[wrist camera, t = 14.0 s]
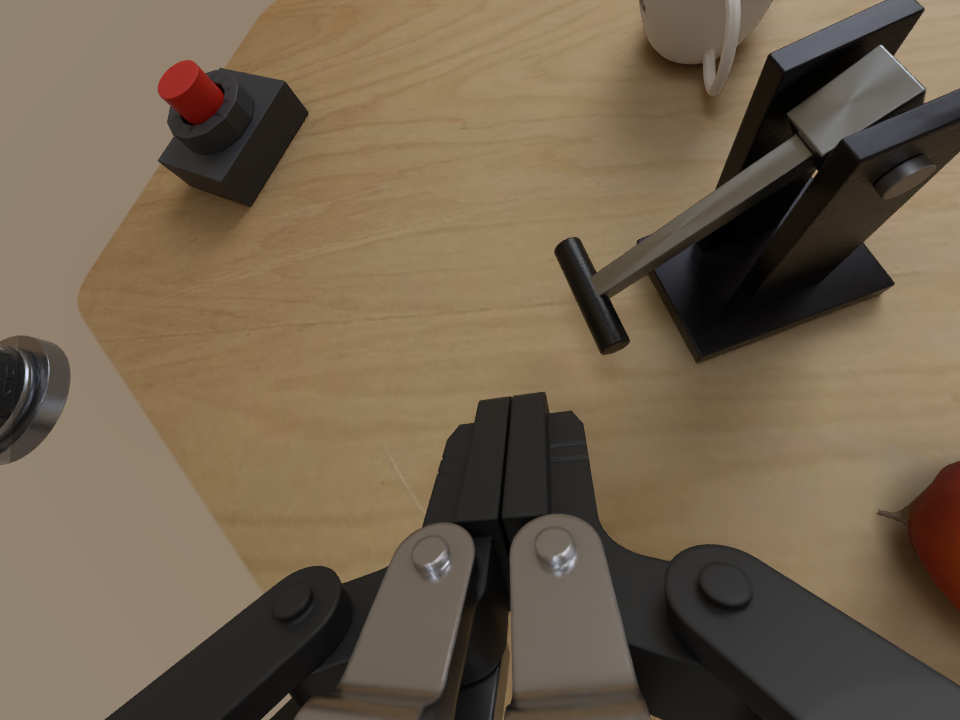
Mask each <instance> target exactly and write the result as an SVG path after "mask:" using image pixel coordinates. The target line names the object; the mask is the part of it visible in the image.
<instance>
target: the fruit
mask: <svg viewBox="0 0 960 720" xmlns="http://www.w3.org/2000/svg"><path fill="white" fill-rule="evenodd" d="M878 511H879V513H877V514H879V515H882V516H885V517H887V518H892V519H894V520H896V521H901V522H902V523H904V524H905V525H906V526H907V528H908V536H909V541H910V544H911V546H912V548H913V549H914V551H915V552H916V554H917V555H918V556H919V558H920V560H921V562H922V563H923V565H924V566H925V568H926V570H927V571H928V573H929V575H930V576H931V578H932V580H933V581H934V583H935V584H936V585H937V587H938V588H939V589H940V590H941V591H942V592H943V593H944V594H945V595H946V597H947V598H948V599H949V600H950V601H951V602H952V604H953V605H954V606H955V607H956V608H957V609H958V610H959V611H960V461H958V462H955V463H952V464H950V465H947V466H946V467H944V468H943V469H942V470H941V471H940V472H939V473H938V475H937V476H936V478H935V479H934V481H933V482H932V483H931V484H930V485H929V487H928V488H927V489H926V490H924V491H923V492H922V493H921V494H920V495H919V496H918V497H917V498H916V499H915V500H914V501H913V502H911V503H910V504H909V505H908V506H906V507H905V508H904V509H902V510H901V511H899V512H896V513H891V512H886V511H881V510H878Z"/></svg>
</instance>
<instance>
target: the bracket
mask: <svg viewBox="0 0 960 720" xmlns="http://www.w3.org/2000/svg"><path fill="white" fill-rule="evenodd" d="M924 10H925V9H924V7H922V6H921V5H920V4H919V3H918V2H917V1H916V0H885V1H883V2H881V3H879V4H876V5H874V6H872V7H870V8H868V9H866V10H863V11H861V12H859V13H857V14H855V15H853V16H850V17H848V18H846V19H844V20H842V21H840V22H837V23H835V24H833V25H831V26H829V27H827V28H824V29H822V30H820V31H818V32H816V33H814V34H811V35H809V36H807V37H805V38H803V39H801V40H798V41H796V42H794V43H792V44H790V45H787V46H785V47H783V48H781V49H779V50H777V51H774V52H772V53H770V54H769V55H768V57H767V59H766V62H765V64H764V67H763V70H762V72H761V75H760V77H759V80H758V82H757V85H756V87H755V90H754V92H753V95H752V97H751V100H750V103H749V105H748V108H747V110H746V113H745V115H744V118H743V120H742V123H741V125H740V128H739V130H738V133H737V136H736V138H735V141H734V143H733V146H732V148H731V151H730V153H729V156H728V158H727V161H726V164H725V166H724V169H723V171H722V174H721V176H720V179H719V181H718V184H717V186H716V189H717V188H719V187H720V186H722V185H723V184H725V183H726V182H728V181H729V180H730V179H732V178H733V177H735V176H736V175H738V174H739V173H740V172H742V171H743V170H745V169H746V168H748V167H749V166H750V165H752V164H753V163H755V162H756V161H758V160H759V159H760V158H762V157H763V156H765V155H766V154H768V153H769V152H770V151H772V150H773V149H775V148H776V147H778V146H779V145H781V144H782V143H783V142H785V141H786V140H788V139H789V138H791V137H792V136H793V133H792V130H791V127H790V123H789V120H788V117H787V112H788V111H790V110H791V109H792V108H794V107H795V106H796V105H798V104H799V103H801V102H802V101H803V100H805V99H806V98H807V97H809V96H810V95H811V94H813V93H814V92H816V91H817V90H818V89H820V88H821V87H822V86H824V85H825V84H827V83H828V82H829V81H831V80H832V79H833V78H835V77H836V76H837V75H839V74H840V73H842V72H843V71H844V70H846V69H847V68H848V67H850V66H851V65H852V64H854V63H855V62H857V61H858V60H859V59H861V58H862V57H863V56H865V55H866V54H868V53H869V52H870V51H872V50H873V49H874V48H876V47H877V46H879V45H883V46H884V47H885V48H886V49H887V50H888V51H889V52H890V53H891V54H892V55H893V56H894V54H895V53H896V51H897V50H898V49H899V47H900V46H901V44H902V43H903V41H904V40H905V38H906V37H907V35H908V34H909V32H910V31H911V29H912V28H913V27H914V25H915V24H916V22H917V21H918V19H919V18H920V16H921V15H922V13H923V12H924ZM959 152H960V89H958V90H955V91H953V92H950V93H948V94H946V95H943V96H941V97H939V98H936V99H934V100H932V101H929V102H927V103H925V104H922V105H920V106H918V107H915V108H913V109H911V110H908V111H906V112H904V113H901V114H899V115H897V116H894V117H892V118H889V119H887V120H885V121H882V122H880V123H878V124H875V125H873V126H871V127H868V128H866V129H864V130H861V131H859V132H857V133H854V134H852V135H850V136H847V137H845V138H843V139H841V140H840V141H839V142H838V144H837V145H836V147H835V148H834V150H833V151H832V152H831V154H830V155H829V157H828V158H827V160H826V161H825V163H824V164H823V165H822V167H821V168H820V170H819V171H818V173H817V174H816V176H815V177H814V178H812V175H813V173H814V172H815V170H816V168H815V167H813V168H812V169H810V170H808V171H807V172H805V173H804V174H802V175H801V176H799V177H798V178H796V179H794V180H793V181H791V182H790V183H788V184H787V185H785V186H784V187H782V188H780V189H779V190H777V191H776V192H774V193H773V194H771V195H770V196H768V197H766V198H765V199H763V200H762V201H760V202H759V203H757V204H756V205H754V206H752V207H751V208H749V209H748V210H746V211H745V212H743V213H742V214H740V215H739V216H737V217H735V218H734V219H732V220H731V221H729V222H728V223H726V224H725V225H723V226H721V227H720V228H718V229H717V230H715V231H714V232H712V233H711V234H709V235H707V236H706V237H704V238H703V239H701V240H700V241H698V242H697V243H695V244H693V245H692V246H690V247H689V248H687V249H686V250H684V251H683V252H681V253H679V254H678V255H676V256H675V257H673V258H672V259H670V260H669V261H667V262H666V263H664V264H662V265H661V266H659V267H658V268H656V269H655V270H653V271H652V272H650V273H648V274H649V276H650V278H651V280H652V281H653V283H654V285H655V287H656V289H657V291H658V292H659V294H660V296H661V298H662V300H663V302H664V303H665V305H666V307H667V309H668V311H669V313H670V314H671V316H672V318H673V320H674V322H675V324H676V325H677V327H678V329H679V331H680V333H681V335H682V337H683V338H684V340H685V342H686V344H687V346H688V348H689V349H690V351H691V353H692V355H693V357H694V359H695V360H696V362H697V363H699V362H702V361H704V360H707V359H710V358H712V357H715V356H718V355H720V354H723V353H726V352H728V351H731V350H734V349H736V348H739V347H742V346H744V345H747V344H749V343H752V342H755V341H757V340H760V339H763V338H765V337H768V336H771V335H773V334H776V333H779V332H781V331H784V330H787V329H789V328H792V327H795V326H797V325H800V324H803V323H805V322H808V321H811V320H813V319H816V318H819V317H821V316H824V315H826V314H829V313H832V312H834V311H837V310H840V309H842V308H845V307H848V306H850V305H853V304H856V303H858V302H861V301H864V300H866V299H869V298H872V297H874V296H877V295H880V294H882V293H883V292H885V291H886V290H888V289H889V288H890V287H892V286H893V285H894V284H895V283H894V282H893V280H892V279H891V278H890V276H889V275H888V274H887V273H886V271H885V270H884V269H883V267H882V266H881V265H880V264H879V262H878V261H877V260H876V259H875V257H874V256H873V255H872V253H871V252H870V251H869V250H868V248H867V247H866V246H865V244H864V243H863V242H864V241H865V240H866V239H867V238H868V237H869V236H870V235H871V234H872V233H874V232H875V231H876V230H877V229H878V228H879V227H880V226H881V225H882V224H883V223H884V222H885V221H886V220H887V219H888V218H890V217H891V216H892V215H893V214H894V213H895V212H896V211H897V210H898V209H899V208H900V207H901V206H902V205H903V204H904V203H906V202H907V201H908V200H909V199H910V198H911V197H912V196H913V195H914V194H915V193H916V192H917V191H918V190H919V189H920V188H922V187H923V186H924V185H925V184H926V183H927V182H928V181H929V180H930V179H931V178H932V177H933V176H934V175H935V174H936V173H938V172H939V171H940V170H941V169H942V168H943V167H944V166H945V165H946V164H947V163H948V162H949V161H950V160H951V159H952V158H954V157H955V156H956V155H957V154H958V153H959ZM716 189H715V190H716ZM651 235H652V234H651ZM649 236H650V235H649ZM649 236H646V237H644V238H641V239H639V240H637V244H639V243H640V242H642V241H643V240H644V239H646V238H647V237H649Z"/></svg>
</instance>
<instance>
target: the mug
mask: <svg viewBox="0 0 960 720" xmlns="http://www.w3.org/2000/svg"><path fill="white" fill-rule="evenodd" d="M772 1H773V0H639V6H640V12H641V17H642V22H643V26H644V30H645V33H646V35H647V38H648V40H649V42H650V44H651V45H652V47H653V48H654V49H655V50H656V51H657V52H658V53H659V54H660V55H661V56H663V57H664V58H666V59H668V60H670V61H672V62H676V63H680V64H700V63H703V75H704V83H705V88H706V91H707V93H708V94H709V95H712V96H715V95H717V94H719V93H720V92H721V91H722V90H723V88H724V86H725V84H726V81H727V79H728V77H729V74H730V71H731V68H732V64H733V61H734V57H735V52H736V47H737V46H738V45H739V44H740V43H741V42H743V41H744V40H745V38H746V37H747V36H748V35H749V34H750V33H751V31H752V30H753V29H754V28H755V27H756V26H757V24H758V23H759V21H760V20H761V19H762V17H763V16H764V14H765V13H766V11H767V9H768V8H769V6H770V4H771V3H772ZM719 57H721V59H720V63H719V67H718V71H717V74H716V71H715V59H717V58H719Z"/></svg>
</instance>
